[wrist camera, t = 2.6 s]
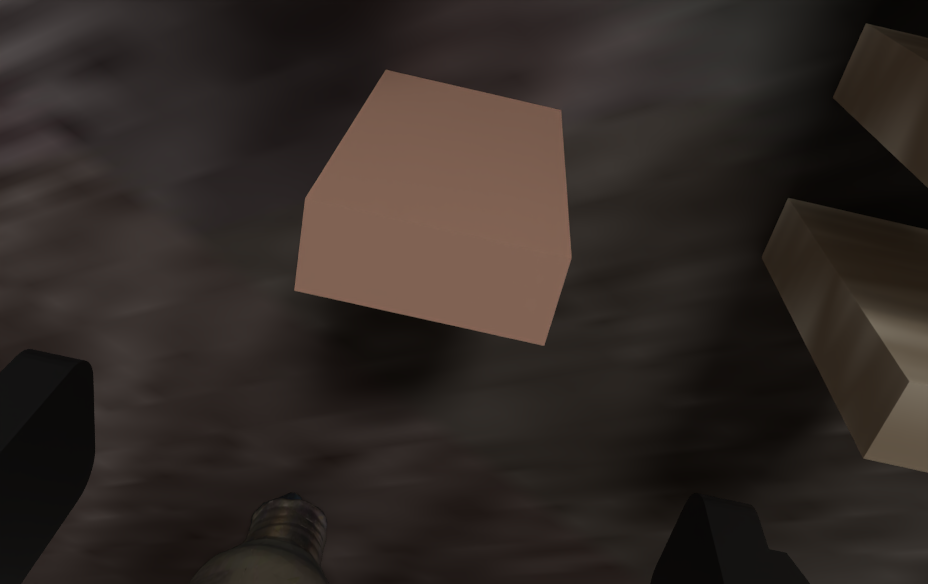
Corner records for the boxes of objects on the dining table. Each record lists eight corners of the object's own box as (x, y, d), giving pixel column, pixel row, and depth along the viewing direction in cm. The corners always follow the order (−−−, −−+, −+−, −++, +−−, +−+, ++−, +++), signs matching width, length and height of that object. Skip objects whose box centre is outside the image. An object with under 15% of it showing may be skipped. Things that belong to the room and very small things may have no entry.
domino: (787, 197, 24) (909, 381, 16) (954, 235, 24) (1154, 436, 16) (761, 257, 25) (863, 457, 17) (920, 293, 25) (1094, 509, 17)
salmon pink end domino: (385, 69, 23) (305, 198, 15) (561, 110, 23) (571, 257, 15) (375, 137, 24) (294, 290, 16) (542, 175, 24) (543, 345, 16)
